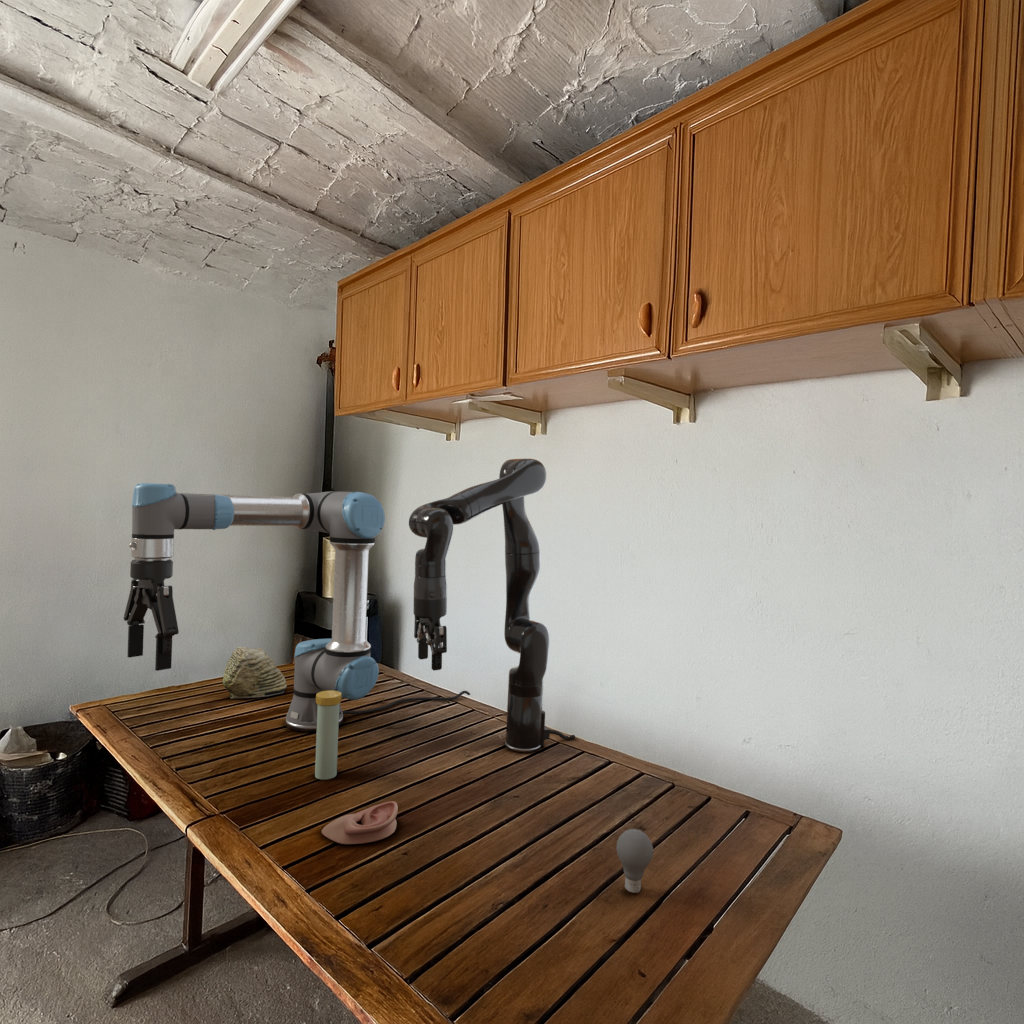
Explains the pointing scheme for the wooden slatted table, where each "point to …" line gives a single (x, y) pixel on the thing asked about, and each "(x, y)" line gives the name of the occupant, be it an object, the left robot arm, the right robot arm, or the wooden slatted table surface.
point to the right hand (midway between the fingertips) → (429, 664)
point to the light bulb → (634, 857)
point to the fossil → (252, 674)
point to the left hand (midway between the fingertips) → (148, 662)
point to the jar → (327, 741)
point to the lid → (328, 698)
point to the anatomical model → (364, 825)
